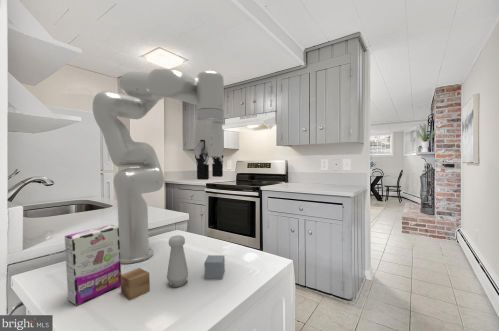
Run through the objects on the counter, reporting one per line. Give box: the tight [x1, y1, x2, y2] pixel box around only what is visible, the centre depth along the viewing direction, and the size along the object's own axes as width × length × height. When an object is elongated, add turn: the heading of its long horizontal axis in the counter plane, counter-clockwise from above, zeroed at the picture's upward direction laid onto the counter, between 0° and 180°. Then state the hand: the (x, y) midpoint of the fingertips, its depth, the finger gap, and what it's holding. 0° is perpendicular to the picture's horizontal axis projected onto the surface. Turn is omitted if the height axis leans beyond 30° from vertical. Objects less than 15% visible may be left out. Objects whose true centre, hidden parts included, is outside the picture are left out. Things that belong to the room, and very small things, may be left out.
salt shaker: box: [166, 235, 189, 288], centre depth 67 cm, size 6×6×13 cm
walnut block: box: [120, 267, 151, 301], centre depth 62 cm, size 5×5×5 cm
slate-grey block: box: [203, 254, 226, 281], centre depth 71 cm, size 5×5×5 cm
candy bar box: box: [64, 224, 122, 306], centre depth 62 cm, size 11×5×16 cm, turn 148°
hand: (210, 177), depth 69 cm, fingers open, 9 cm apart
